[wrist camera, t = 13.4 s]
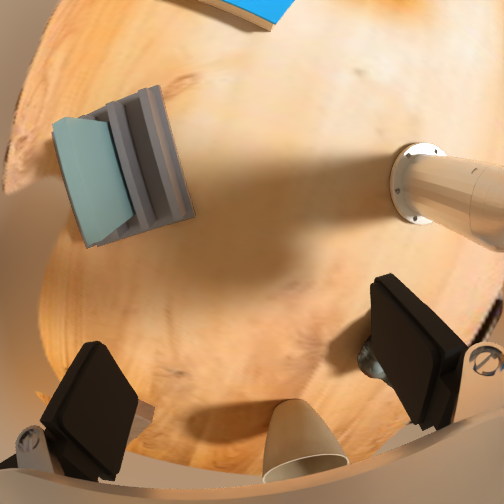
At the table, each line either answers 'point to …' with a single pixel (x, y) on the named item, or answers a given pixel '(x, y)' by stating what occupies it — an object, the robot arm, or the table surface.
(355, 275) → the table surface
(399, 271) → the table surface
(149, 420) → the wooden block set
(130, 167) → the dish rack
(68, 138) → the thin teal board
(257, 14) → the book
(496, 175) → the robot arm
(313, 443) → the plant pot
